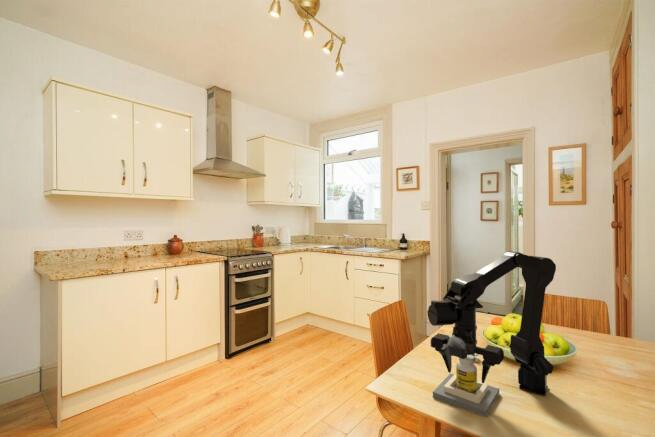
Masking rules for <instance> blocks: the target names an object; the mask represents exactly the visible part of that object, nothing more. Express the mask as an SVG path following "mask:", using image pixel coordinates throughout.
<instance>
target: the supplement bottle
mask: <svg viewBox="0 0 655 437" xmlns="http://www.w3.org/2000/svg"><path fill="white" fill-rule="evenodd" d="M455 365H456V368H455V369H456V373H455V374H456V382H457V389H460V390H463V391H466V392H469V393H472V394H476V392H477V381H478V372H477V371H478V369H477V365H476V364H475V356H474V357H473V356H471V355H467V358H465V359H461V358H460V357H458V361H457V363H456V364H455Z"/></svg>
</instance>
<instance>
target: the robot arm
mask: <svg viewBox="0 0 655 437" xmlns="http://www.w3.org/2000/svg"><path fill="white" fill-rule="evenodd" d="M517 268H519V269H521V276H522V278H523V280H524V282H525V289H524V298H523V306H522V311H521V312H522V313H521V319H520V320H521V321H520V328H519V331H518V332H517V333H516V334H515V335H514V334H511V335H510V343H509V345H508V348H510V354H511V356H513V357H514V361H515V362H516V363H518V364H520V366H519V368H518V369H517V383H518V384H519V385H518V388H519V389H520V390H523V391H526V392H531V393H534V394H537V395H540V396H543V397H545V396H547V392H548V388H549V386H548V385H547V376H549V375H551V374H552V373H553V370H554V365H553V363H551V362H550V361H549V360H548V359H547V358H546V357H545V346H544V344H543V341H542V339H541V337H540V335H541V334H540V333H541V325H542V320H543V318H542V317H543V311H544V305H545V304H544V303H545V296H546V289H547V287H548V286H549V285H550V284H551V283H552V281H553V280H554V278H555V277H554V276H555V274H556V271H557V270H556V269H557V265H556V263H555V262H554V261H553V259H552V258H550V257H543V256H535V255H527V254H524V253H521V252H520V251H519V252H517V251H510V250H509V251H507V252H505V253H504V254H503V255H502V256H500V257H498V258H497V259H496V260H493V261H492V262H490V263H489V264H487V265H486V266H484V267H482V268H481V269H480V270H477V271H476V272H473V273H471V274H466V275H461V276H459V277H457V278H454V279H453V280H452V282H451V283H450V284H451V285H450V288H449V289H448V290H447V291H446V294H445V295H444V296H443V298H442V300H431V301H430V305H429V306H428V310H427V312H426V313H427V319H428V320H429V323H430V325H431V326H433V327H437V326H450V325H451V326H452V325H454V326H453V327H452V333H451V336H450V335H449V334H448V335H447V334H444V333H440V332H439V333H436V334H435V335H434V336H432V337H431V339H430V347H431V348H433V349H434V350H435V351H436V352H438V353H439V354H440V355H441V357H442V359H443V361H444V364H445V366H446V369H447V372H448V373H449V374H450V373H452V357H456V358H457V357H458V358H459V357H460V358H461V359H465V358H467V355H474V354H479V355H480V356H482V359H483V360H482V361H481V365H482V369H481V382H482V383H486V382H485V381H486V379H487V377H488V374H489V371H490V368H491V367H495V366H498V365H501V363H502V362H503V360H504V359H505V351H504V350H503V349H502V348H501V347H499V346H495V345H490V344H487V345H486V346H485V347H480V346H477V345H478V339H477V330H478V325H477V321H476V320H477V317H476V316H477V311H476V310H477V309H482V308H484V305H482V303H480V302H479V300H478V299H479V298H480V297H481V296H482V295H483V294H485V292H486V289H487V287H489V286H490V285H491V284H493V283H494V282H496V281H498V280H499V279H501V278H502V277H504V276H505V275H507V274H509V273H510V272H512V271H513V270H515V269H517ZM479 355H478V356H479Z"/></svg>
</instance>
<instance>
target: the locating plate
mask: <svg viewBox="0 0 655 437" xmlns="http://www.w3.org/2000/svg"><path fill="white" fill-rule="evenodd" d="M499 396H500V388H498V387H495V386H492V385H489V384H488V383H487V382H484V383H482V381H480V380H477V392H476V394H472V393H469V392H466V391H463V390H460V389H457V382H456V373H452V372H450V373H449V374H448V375H447V376H446V377H445V378H444V380H443V381H442V382H441V383H440V384H439V385H438V386H436V388H435V389H434V390H433V391H432V398H434V399H438V400H440V401H442V402H445V403H447V404H450V405H453V406H455V407H458V408H461V409H463V410H466V411H468V412H471V413H474V414H477V415H479V416H482V417H485V418H487V416H488V414H489V413H490V411H491V409H492V407H493V406H494V404H495V403H496V400H497V399H498V397H499Z"/></svg>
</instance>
